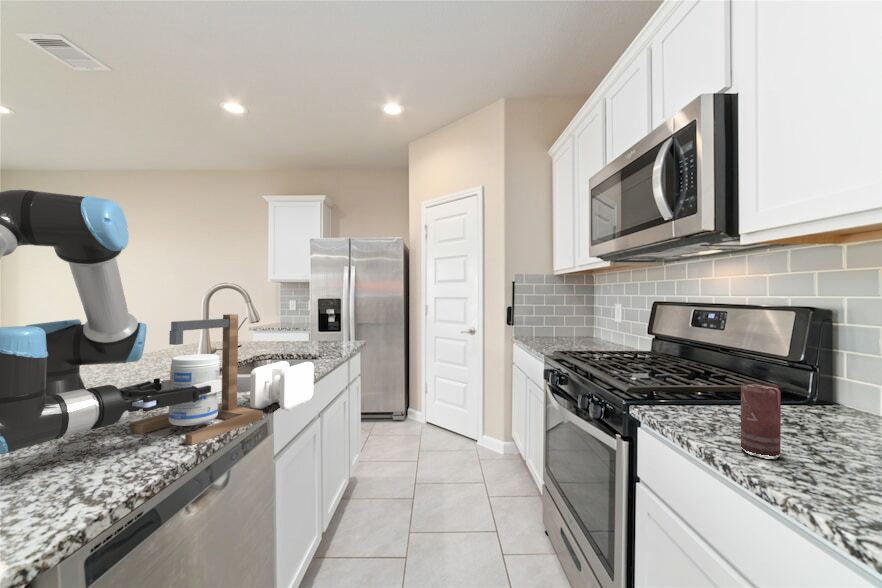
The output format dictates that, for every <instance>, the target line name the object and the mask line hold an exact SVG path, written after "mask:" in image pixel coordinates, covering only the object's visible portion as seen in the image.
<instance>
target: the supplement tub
mask: <svg viewBox="0 0 882 588" xmlns="http://www.w3.org/2000/svg"><path fill="white" fill-rule="evenodd" d="M220 362H221V361H220V356H219V355H218V354H212V353H211V354H210V353H198V354H197V353H196V354H195V353H194V354H185V355H183V354H182V355H178V356H174V357H172V358H171V364H170V373H169V375H170V376H169V380H170V390H171V389H179V388H186V387H192V385H196V384H200V383H205V382H210V381H214V380H218V379H220V373H221V372H220V367H221V364H220ZM219 393H220V392H216V393H212V394H208V395H204V396H200V397H199V400H197V401H196V402H194V403H193V401H192V402H187V403H182V404H177V405H172V406H168V412H169V422H170V423H171V424H173V425H174V426H177V427H178V426H179V427H181V426H182V427H183V426H195V425H200V424H205V423H209V422H210V421H213V420H215V419H217V418H216V417H217V415H218V404H219V399H220V398H219V397H220V395H219ZM173 425H172V426H173Z"/></svg>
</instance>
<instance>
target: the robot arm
mask: <svg viewBox="0 0 882 588" xmlns="http://www.w3.org/2000/svg"><path fill="white" fill-rule="evenodd" d="M128 228H129V227H128V222H127V218H126V216H125V213H124V210H122V207H120V205H119V204H118V203H117V202H114V201H113V200H110V199H107V198H106V199H105V198H101V197H96V196H91V195H87V196H80V195H71V194H66V193H65V194H64V193H63V194H62V193H54V192H46V191H36V190H32V189H31V190H29V189H9V190H4V191H0V260H1V258H2V257H5V256H8V255H11V254H12V253H13V252H14V251H15V250H16V249H17V248H18V247H20V246H36V247H37V246H38V247H39V246H40V247H51V248H52V247H53V249H54V252H55V254H56V256H57V257H58V258H59V259H60V260H62V261H64V262H66V263H68V265H69V267H70V271H71V274H72V277H73V280H74V283H75V286H76V289H77V292H78V295H79V299H80V302H81V305H82V307H83V308H82V309H83V310H84V314H85V317H86V320H87V321H86V322H85V323H82V321H81V319H79V318H76V319H68V320H67V319H66V320H58V321H57V320H56V321H50V322H40V323H33V324H27V325H24V326H23V325H21V326H20V325H19V326H17V325H16V326H0V455H1V456H2V455H7V454H8V453H11V452H15V451H19V450H21V449H26V448H29V447H34V446H37V445H39V444H40V445H41V444H44V443H47V442H51V441H55V440H58V439H61V438H62V439H63V440H69V439H71V436H72V435H77V434H81V433H84V432H85V433H86V432H88V431H89V430H97V429H100V428H103V427H108V426H111V425H114V424H117V423H118V422H119V421H120V420H121V419H122V416H123V415H124V413H125V412H126V411H127V412H128V413H133V412H139V411H140V410H142V412H144V413H145V412H146V413H148V412H150V411H154V410H157V409H162V408H166V407H169V406H172V405H177V404H182V403H187V402H192V401H193V403H194V402H196V401H197V400H199V397H200V396H204V395H208V394H212V393H216V392H219V393H220V392H222V378H219V379H218V380H214V381H210V382H205V383H200V384H196V385H192V387H186V388H179V389H171V390H170V379H166V380H161V378H160V377H159V378H158V377H157V378H153V382H152V381H149V380H148V381H144V382H140V383H137V384H133V385H129V386H125V387H119V388H118V387H117V386H115V385H112V384H105V385H99V386H95V387H89V388H87V389H86V386H85V383H84V382H83V379H82V376H81V372H80V371H81V370H80V367H81V366H90V365H92V366H94V365H111V364H113V365H114V364H116V365H117V364H126V363H135V362H138V361H140V360H141V359H142V358H143V353H144V349H145V345H146V337H147V324H146V323H144V322H143V323H142V322H140V321H139V322H138V320H137V318H136V317H135V316H134V315H133V314H131V313H129V310H128V304H127V300H126V296H125V292H124V287H123V283H122V280H121V279H122V278H121V274H120V269H119V264H118V261H117V258H118V257H119V256H120V255H121V253H122V252H123V250H125V249H126V248H127V247H128V244H129V230H128Z"/></svg>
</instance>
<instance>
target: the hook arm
mask: <svg viewBox="0 0 882 588" xmlns="http://www.w3.org/2000/svg"><path fill="white" fill-rule="evenodd" d="M223 327H229V319H223V318H216V319H215V318H212V319H211V318H209V319H195V320H194V319H193V320H192V319H191V320H176V321H171V322H170V330H169V338H168V339H169V345H173V346H177V345H184V331H193V330H194V331H195V330H207V329H220V328H222V329H223Z"/></svg>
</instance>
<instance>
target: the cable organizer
mask: <svg viewBox="0 0 882 588" xmlns="http://www.w3.org/2000/svg"><path fill="white" fill-rule="evenodd" d="M249 379H250V381H249V382H250V385H249V405H250V407H251V409H258V410H261V409H264V408H267V407H269V406H272V404H274V403H278V405H279V408H280V409H281V410H285V411H286V412H289V411H292V410H294V409H295V408H296V407H297V406H300V405H305V404H306V403H308V402H310V400H311V399H312V397H314V390H315V389H314V388H315V387H314V385H315V384H314V383H315V364H314V363H313V362H311V361H304V362H301V363H298V364H294V365H291V366H290V363H289V361H284V360H280V361H276V362H272V363H268V364H265V365H261V366H258V367H255V368H253V369H252V370H251V372H250V378H249Z"/></svg>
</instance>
